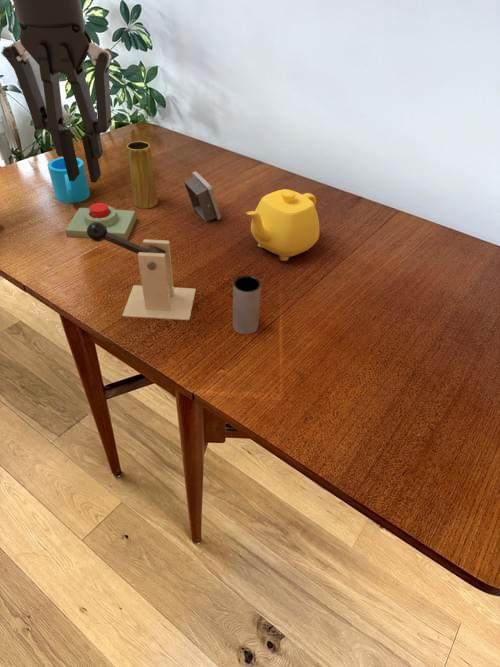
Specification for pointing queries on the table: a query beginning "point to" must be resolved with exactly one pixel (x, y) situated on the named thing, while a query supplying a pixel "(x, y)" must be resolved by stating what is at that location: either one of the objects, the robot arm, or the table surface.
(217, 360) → the table surface
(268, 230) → the teapot
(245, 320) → the gray hollow cylinder
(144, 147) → the vase
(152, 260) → the bracket
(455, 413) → the table surface
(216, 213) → the electrical switch
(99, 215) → the button
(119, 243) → the lever
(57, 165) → the mug
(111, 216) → the button base
